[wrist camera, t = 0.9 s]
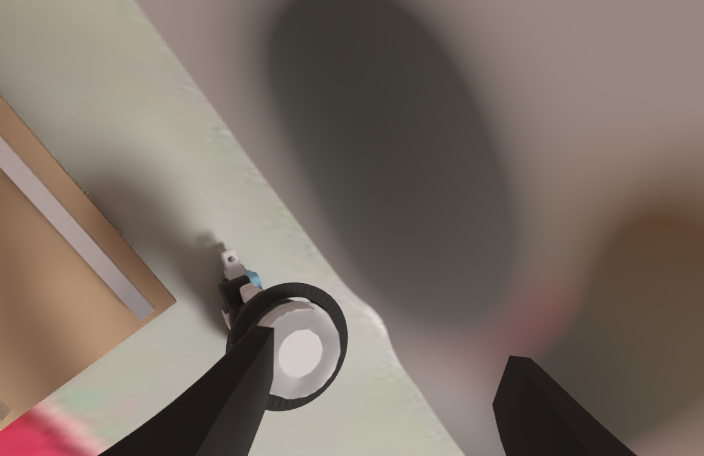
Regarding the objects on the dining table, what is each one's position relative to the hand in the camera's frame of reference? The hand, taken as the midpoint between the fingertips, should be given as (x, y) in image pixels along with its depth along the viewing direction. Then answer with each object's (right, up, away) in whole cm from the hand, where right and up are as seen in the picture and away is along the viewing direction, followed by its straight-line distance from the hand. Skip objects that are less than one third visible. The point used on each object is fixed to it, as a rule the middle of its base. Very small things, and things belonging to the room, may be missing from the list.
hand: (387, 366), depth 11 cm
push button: (-8, 0, +12) cm, 15 cm away
